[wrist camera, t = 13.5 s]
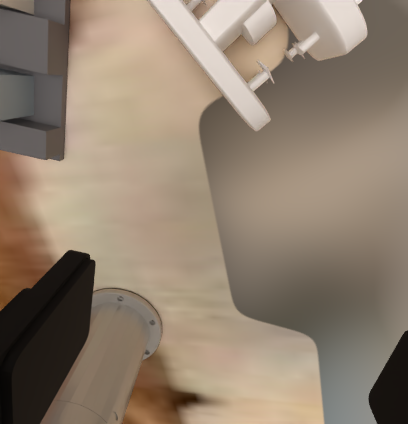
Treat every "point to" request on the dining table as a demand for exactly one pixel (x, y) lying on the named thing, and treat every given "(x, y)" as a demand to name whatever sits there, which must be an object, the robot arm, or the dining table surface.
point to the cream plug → (18, 5)
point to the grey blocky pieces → (37, 76)
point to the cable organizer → (253, 31)
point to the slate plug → (16, 94)
